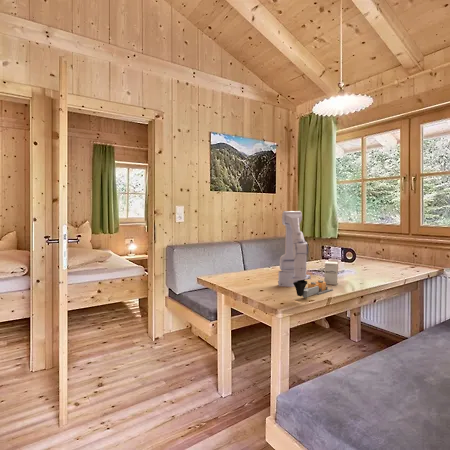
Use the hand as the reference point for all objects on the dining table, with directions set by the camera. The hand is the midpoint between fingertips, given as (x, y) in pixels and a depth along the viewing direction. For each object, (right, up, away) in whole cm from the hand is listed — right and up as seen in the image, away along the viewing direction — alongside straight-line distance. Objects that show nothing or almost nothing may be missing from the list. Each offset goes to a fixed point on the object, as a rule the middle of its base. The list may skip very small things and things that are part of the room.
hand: (299, 295), depth 151 cm
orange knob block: (+15, -1, +18) cm, 24 cm away
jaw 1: (+10, -1, +14) cm, 17 cm away
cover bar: (+7, -1, +5) cm, 9 cm away
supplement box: (+27, -1, +35) cm, 44 cm away
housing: (+12, -2, +17) cm, 21 cm away
